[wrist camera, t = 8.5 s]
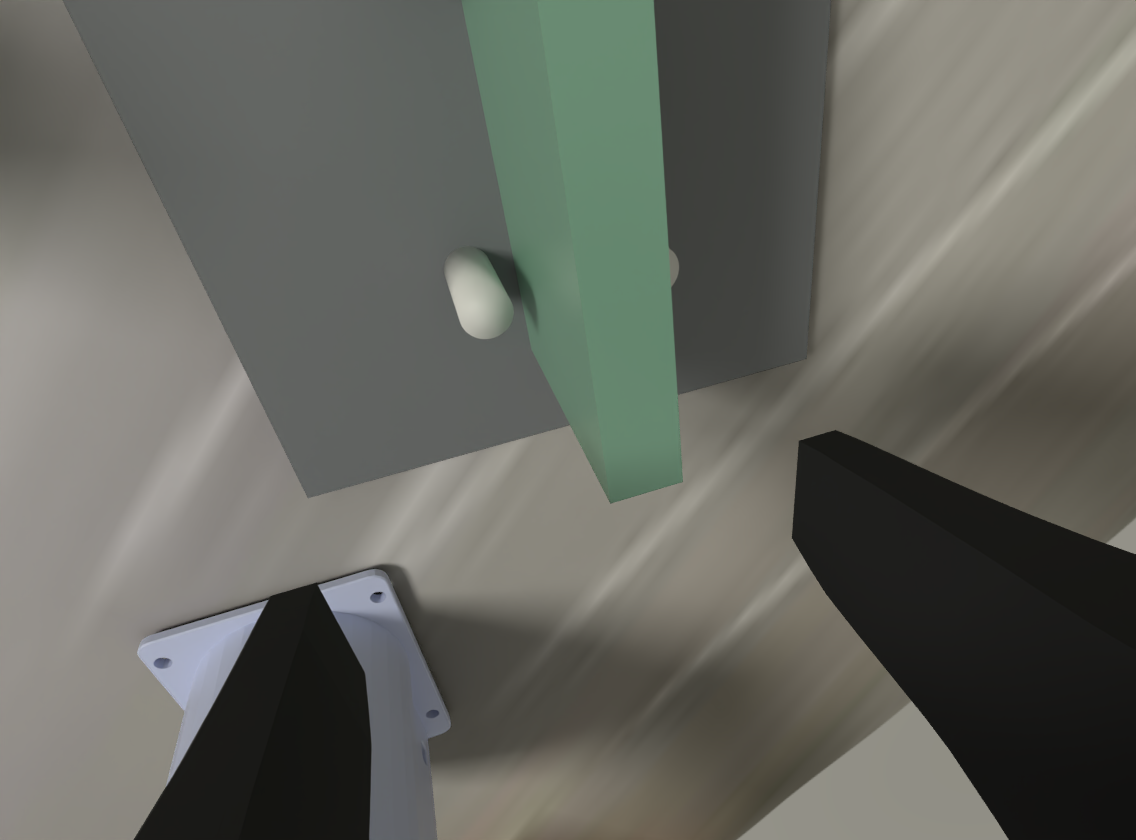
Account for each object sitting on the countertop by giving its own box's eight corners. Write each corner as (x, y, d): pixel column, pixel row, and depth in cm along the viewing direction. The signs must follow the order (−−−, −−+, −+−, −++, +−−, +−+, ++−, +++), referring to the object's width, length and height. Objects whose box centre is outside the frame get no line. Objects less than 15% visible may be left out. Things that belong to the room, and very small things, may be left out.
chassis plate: (789, 346, 22) (865, 404, 19) (309, 477, 20) (299, 570, 16) (834, -527, 12) (1017, -736, 8) (-140, -461, 10) (-402, -712, 6)
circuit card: (582, 336, 18) (683, 481, 13) (531, 349, 18) (610, 503, 12) (493, -254, 12) (623, -512, 6) (412, -243, 11) (463, -504, 6)
